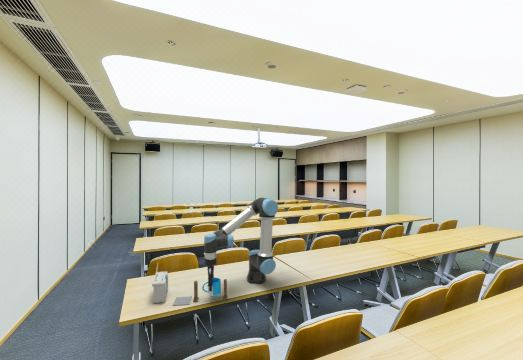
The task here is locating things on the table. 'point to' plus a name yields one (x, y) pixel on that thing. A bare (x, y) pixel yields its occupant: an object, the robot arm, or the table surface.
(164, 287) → the stereo radio cassette player
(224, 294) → the walnut standards
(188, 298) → the grey mat
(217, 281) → the mug
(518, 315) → the table surface
